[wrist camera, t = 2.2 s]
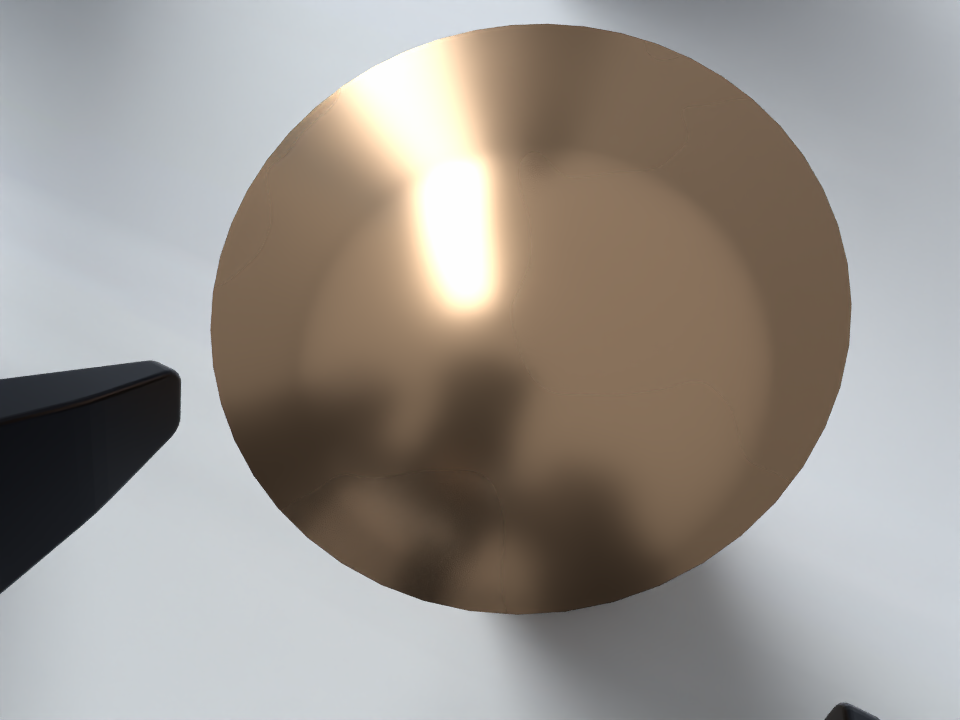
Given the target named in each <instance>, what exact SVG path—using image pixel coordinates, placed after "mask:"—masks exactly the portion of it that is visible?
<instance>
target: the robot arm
mask: <svg viewBox="0 0 960 720" xmlns="http://www.w3.org/2000/svg"><path fill="white" fill-rule="evenodd" d="M180 413H181V379H180V376H179V374H178V373H177V372H176V371H175V370H173V369H171V368H169V367H167V366H165V365H163V364H161V363H159V362H156V361H141V362H133V363H126V364H118V365H110V366H102V367H94V368H86V369H78V370H70V371H62V372H54V373H46V374H39V375H31V376H23V377H15V378H7V379H0V594H1V593H2V592H3V591H5V590H6V589H7V588H8V587H9V586H10V585H12V584H13V583H14V582H15V581H16V580H18V579H19V578H20V577H21V576H22V575H24V574H25V573H26V572H27V571H28V570H30V569H31V568H32V567H33V566H34V565H35V564H37V563H38V562H39V561H40V560H41V559H43V558H44V557H45V556H46V555H47V554H49V553H50V552H51V551H52V550H53V549H55V548H56V547H57V546H58V545H59V544H61V543H62V542H63V541H64V540H65V539H66V538H68V537H69V536H70V535H71V534H72V533H74V532H75V531H76V530H77V529H78V528H80V527H81V526H82V525H83V524H84V523H85V522H86V521H88V520H89V519H90V518H91V517H92V516H93V515H94V514H96V513H97V512H98V511H99V510H100V509H101V508H102V507H103V506H104V505H105V504H106V503H107V502H108V501H109V500H110V499H111V498H112V497H113V496H114V495H115V494H116V493H117V492H118V491H119V490H120V489H121V488H122V487H123V486H124V485H125V484H126V483H127V482H128V481H129V480H130V479H131V478H132V477H133V476H134V475H135V474H136V473H137V472H138V471H139V470H140V469H141V468H142V466H143V465H144V464H145V463H146V462H147V461H148V460H149V459H150V458H151V457H152V456H153V455H154V454H155V453H156V452H157V451H158V450H159V449H160V448H161V447H162V446H163V445H164V444H165V443H166V442H167V441H168V440H169V439H170V438H171V437H172V436H173V434H174V433H175V431H176V430H177V428H178V426H179V422H180ZM824 720H880V719H878V718H877V717H875V716H873V715H871V714H869V713H867V712H865V711H863V710H861V709H859V708H857V707H855V706H853V705H851V704H849V703H844V702H843V703H839V704H838V705H836V706H835V707H834V708H833V709H832V711H831V712H830V713H829V714H828V716H827V717H826V718H825V719H824Z"/></svg>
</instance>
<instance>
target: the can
mask: <svg viewBox="0 0 960 720" xmlns="http://www.w3.org/2000/svg"><path fill="white" fill-rule="evenodd" d="M850 320H851V295H850V284H849V274H848V263H847V259H846V255H845V251H844V247H843V243H842V239H841V235H840V231H839V227H838V224H837V221H836V219H835V217H834V214H833V212H832V209H831V207H830V204H829V202H828V200H827V197H826V195H825V192H824V190H823V188H822V186H821V184H820V183H819V181H818V179H817V178H816V176H815V174H814V172H813V171H812V169H811V167H810V166H809V164H808V162H807V161H806V159H805V157H804V156H803V154H802V153H801V152H800V150H799V149H798V148H797V147H796V145H795V144H794V143H793V142H792V140H791V139H790V138H789V137H788V135H787V134H786V133H785V131H784V130H783V129H782V128H781V126H780V125H779V124H778V123H777V122H776V121H775V120H774V119H773V118H772V117H770V116H769V115H768V114H767V113H766V112H765V111H764V110H763V109H762V108H761V107H760V106H759V105H758V104H757V103H756V102H755V101H754V100H753V99H752V98H750V97H749V96H748V95H746V94H745V93H744V92H742V91H741V90H740V89H738V88H737V87H736V86H734V85H733V84H732V83H730V82H729V81H728V80H726V79H725V78H724V77H722V76H720V75H719V74H717V73H715V72H714V71H712V70H710V69H708V68H707V67H705V66H703V65H701V64H700V63H698V62H696V61H694V60H693V59H691V58H689V57H686V56H684V55H682V54H679V53H677V52H675V51H672V50H670V49H668V48H665V47H663V46H661V45H658V44H656V43H652V42H649V41H646V40H642V39H639V38H636V37H632V36H629V35H626V34H622V33H618V32H612V31H607V30H601V29H596V28H590V27H584V26H570V25H557V24H530V25H509V26H502V27H495V28H487V29H480V30H474V31H470V32H466V33H462V34H458V35H454V36H450V37H446V38H442V39H439V40H436V41H433V42H430V43H427V44H425V45H422V46H419V47H416V48H414V49H411V50H408V51H406V52H403V53H401V54H399V55H397V56H395V57H393V58H391V59H389V60H387V61H385V62H383V63H381V64H379V65H376V66H374V67H373V68H371V69H369V70H368V71H366V72H365V73H363V74H361V75H360V76H358V77H357V78H355V79H353V80H352V81H350V82H348V83H347V84H345V85H344V86H342V87H341V88H340V89H338V90H337V91H336V92H335V93H333V94H332V95H331V96H329V97H328V98H327V99H326V100H324V101H323V102H322V103H321V104H319V105H318V106H317V107H315V108H314V109H313V110H312V111H311V112H310V113H309V114H308V115H307V116H306V117H305V118H304V119H303V120H302V121H301V122H300V123H299V124H298V125H297V126H296V127H295V128H294V129H293V130H292V131H291V132H290V133H289V134H288V135H287V136H286V137H285V139H284V140H283V141H282V142H281V144H280V145H279V146H278V147H277V148H276V150H275V151H274V152H273V153H272V155H271V156H270V157H269V158H268V159H267V161H266V162H265V164H264V165H263V167H262V169H261V170H260V172H259V173H258V175H257V176H256V178H255V179H254V181H253V183H252V184H251V186H250V187H249V189H248V190H247V192H246V194H245V197H244V199H243V201H242V203H241V205H240V207H239V209H238V211H237V213H236V215H235V217H234V219H233V221H232V224H231V227H230V230H229V232H228V235H227V238H226V241H225V244H224V247H223V250H222V253H221V256H220V260H219V265H218V270H217V275H216V280H215V285H214V290H213V300H212V316H211V342H212V357H213V368H214V373H215V377H216V382H217V387H218V392H219V396H220V401H221V405H222V408H223V410H224V413H225V416H226V418H227V421H228V424H229V427H230V429H231V432H232V435H233V438H234V440H235V442H236V444H237V446H238V448H239V449H240V451H241V453H242V455H243V457H244V459H245V461H246V462H247V464H248V466H249V468H250V470H251V472H252V473H253V475H254V477H255V478H256V479H257V481H258V482H259V483H260V485H261V486H262V487H263V489H264V490H265V491H266V493H267V494H268V495H269V497H270V498H271V499H272V501H273V502H274V503H275V505H276V506H277V507H278V509H279V510H280V511H281V512H282V513H283V514H284V515H285V516H286V517H287V518H288V519H289V520H290V521H291V522H292V523H293V524H294V525H295V526H296V527H297V528H298V529H299V530H300V531H301V532H302V533H303V534H304V535H305V536H306V537H307V538H309V539H310V540H311V541H313V542H314V543H315V544H317V545H318V546H319V547H321V548H322V549H323V550H325V551H326V552H327V553H329V554H330V555H331V556H333V557H334V558H336V559H337V560H338V561H340V562H341V563H342V564H344V565H346V566H348V567H350V568H351V569H353V570H355V571H357V572H359V573H361V574H362V575H364V576H366V577H368V578H370V579H372V580H373V581H375V582H377V583H379V584H381V585H383V586H386V587H389V588H391V589H394V590H397V591H399V592H402V593H405V594H407V595H410V596H413V597H415V598H418V599H421V600H423V601H427V602H432V603H436V604H441V605H446V606H450V607H455V608H459V609H464V610H468V611H478V612H491V613H504V614H517V615H519V614H535V613H551V612H566V611H571V610H576V609H581V608H586V607H591V606H596V605H601V604H606V603H611V602H615V601H618V600H620V599H623V598H626V597H629V596H632V595H635V594H637V593H640V592H643V591H646V590H649V589H651V588H654V587H657V586H660V585H662V584H664V583H666V582H668V581H669V580H671V579H673V578H675V577H677V576H679V575H681V574H683V573H685V572H687V571H689V570H691V569H692V568H694V567H696V566H698V565H700V564H702V563H704V562H705V561H706V560H708V559H709V558H711V557H712V556H713V555H715V554H716V553H718V552H719V551H720V550H722V549H723V548H725V547H726V546H727V545H729V544H730V543H731V542H733V541H734V540H736V539H737V538H738V537H740V536H741V535H742V534H743V533H744V532H745V531H746V530H748V529H749V528H750V527H751V526H752V525H753V524H754V523H755V522H756V521H757V520H758V519H759V518H760V517H761V516H762V515H763V514H764V513H765V512H766V511H767V510H768V509H769V508H770V507H771V506H772V505H773V504H775V502H776V501H777V500H778V499H779V497H780V496H781V495H782V493H783V492H784V491H785V490H786V488H787V487H788V486H789V484H790V483H791V482H792V480H793V479H794V478H795V477H796V475H797V474H798V473H799V471H800V470H801V469H802V468H803V466H804V464H805V462H806V461H807V459H808V457H809V455H810V454H811V452H812V450H813V448H814V446H815V445H816V443H817V441H818V439H819V437H820V436H821V434H822V432H823V430H824V428H825V426H826V424H827V421H828V418H829V416H830V413H831V410H832V408H833V405H834V402H835V400H836V397H837V394H838V392H839V389H840V386H841V381H842V376H843V372H844V367H845V362H846V357H847V353H848V348H849V338H850Z"/></svg>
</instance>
